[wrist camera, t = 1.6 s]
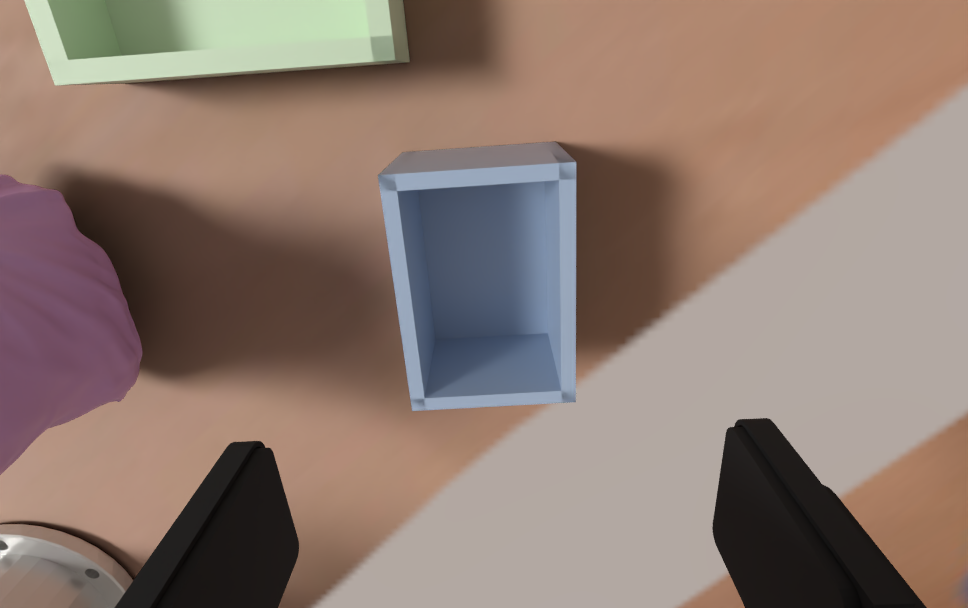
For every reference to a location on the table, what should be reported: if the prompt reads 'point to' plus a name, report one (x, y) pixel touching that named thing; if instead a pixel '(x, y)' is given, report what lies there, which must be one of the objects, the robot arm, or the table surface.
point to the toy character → (56, 320)
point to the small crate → (484, 273)
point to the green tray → (212, 37)
